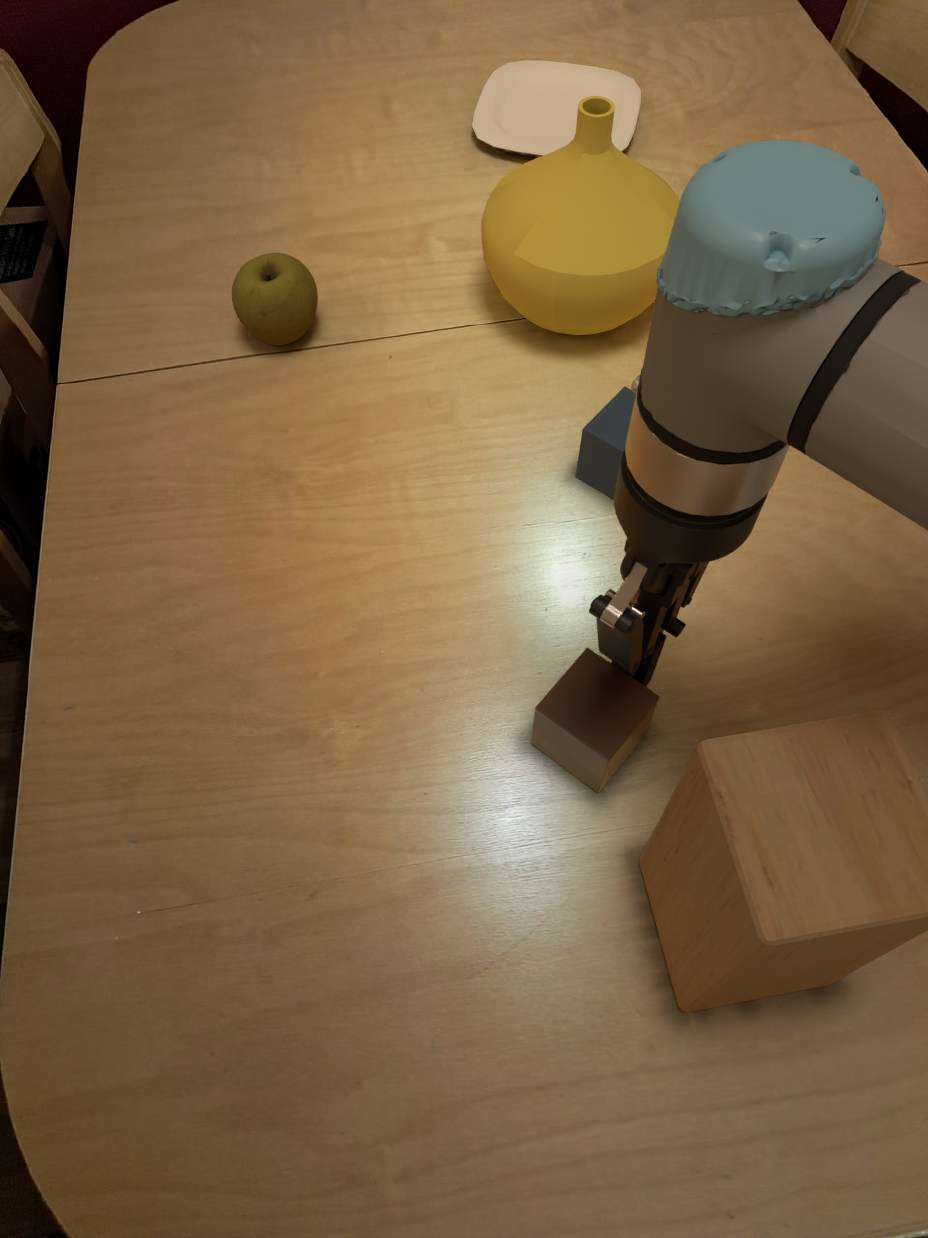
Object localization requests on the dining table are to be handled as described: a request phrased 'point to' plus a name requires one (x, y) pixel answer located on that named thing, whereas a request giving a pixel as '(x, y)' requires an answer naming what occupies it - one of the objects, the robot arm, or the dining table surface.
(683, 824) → the wooden block
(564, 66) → the plate
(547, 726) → the walnut block
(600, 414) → the slate block
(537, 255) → the vase
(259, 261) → the apple
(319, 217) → the dining table surface
